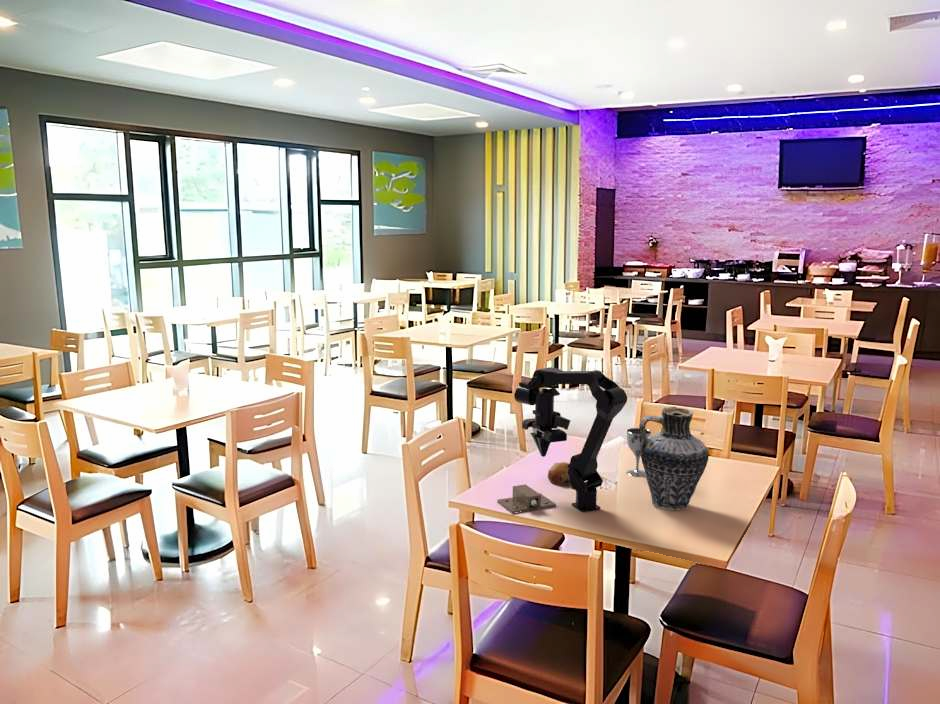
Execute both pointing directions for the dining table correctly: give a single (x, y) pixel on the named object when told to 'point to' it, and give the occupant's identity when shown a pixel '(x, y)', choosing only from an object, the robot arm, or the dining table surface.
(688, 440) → the jug
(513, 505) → the hinge
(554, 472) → the bread roll
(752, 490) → the dining table surface
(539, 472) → the dining table surface
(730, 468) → the dining table surface
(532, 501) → the pin
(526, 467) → the dining table surface
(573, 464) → the robot arm
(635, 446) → the wine glass
